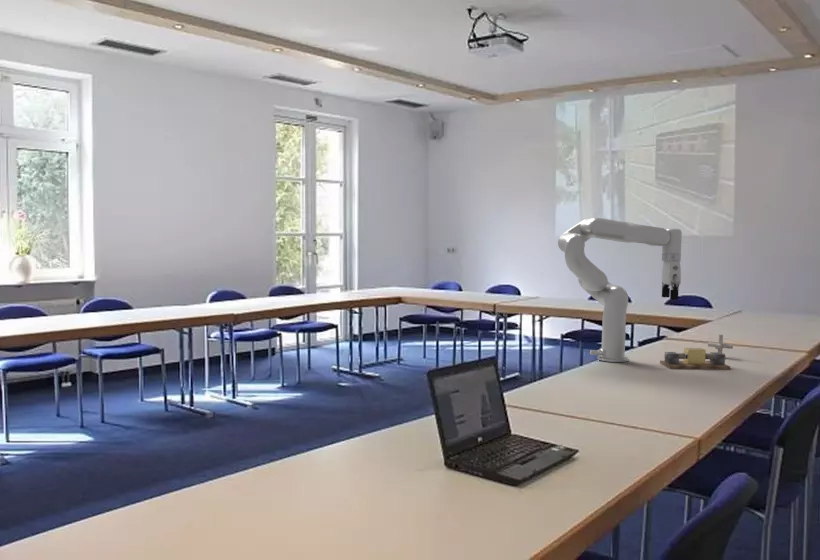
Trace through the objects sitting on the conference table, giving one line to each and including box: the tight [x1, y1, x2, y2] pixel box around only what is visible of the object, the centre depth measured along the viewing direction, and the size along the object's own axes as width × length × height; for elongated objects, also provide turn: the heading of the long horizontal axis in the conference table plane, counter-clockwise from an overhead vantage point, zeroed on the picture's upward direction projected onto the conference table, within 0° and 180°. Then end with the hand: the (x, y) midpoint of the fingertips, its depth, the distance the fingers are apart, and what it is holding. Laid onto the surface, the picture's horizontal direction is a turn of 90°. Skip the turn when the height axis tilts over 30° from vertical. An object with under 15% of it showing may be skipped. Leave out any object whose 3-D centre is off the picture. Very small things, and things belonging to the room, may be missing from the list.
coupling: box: [683, 347, 707, 365], centre depth 301 cm, size 7×4×6 cm, turn 91°
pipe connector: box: [707, 333, 734, 353], centre depth 324 cm, size 10×10×10 cm
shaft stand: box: [659, 351, 731, 370], centre depth 301 cm, size 24×12×5 cm, turn 91°
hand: (669, 298), depth 315 cm, fingers open, 9 cm apart
